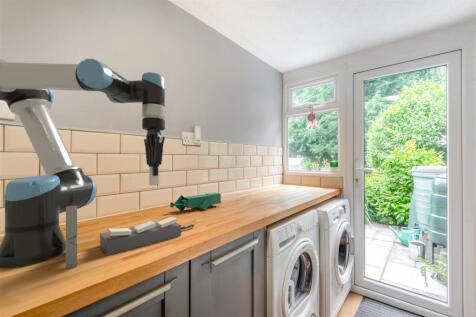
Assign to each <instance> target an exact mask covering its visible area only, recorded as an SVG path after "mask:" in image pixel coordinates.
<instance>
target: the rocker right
mask: <svg viewBox="0 0 476 317" xmlns="http://www.w3.org/2000/svg"><path fill="white" fill-rule="evenodd" d="M177 222H178V218H177V217H175V216H170V217H167V218H165V219H162V220H160V221H157V225H158V226H159V227H161V228H164V227H166V226H168V225H171V224H173V223H177Z"/></svg>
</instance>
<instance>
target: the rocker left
mask: <svg viewBox="0 0 476 317" xmlns="http://www.w3.org/2000/svg"><path fill="white" fill-rule="evenodd" d="M129 228H130V227H126V228H125V227H124V228H121V227H120V228H118V227H117V228H108V229H107V231H106V232H107V233H108V234H109V235H110V236H118V235H131V234H132V231H131V230H130V229H129Z"/></svg>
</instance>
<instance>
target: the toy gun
mask: <svg viewBox="0 0 476 317" xmlns="http://www.w3.org/2000/svg"><path fill="white" fill-rule="evenodd" d="M65 240H66V250H65V270H68V269H72V268H76V267H78V209H77V206H75V205H69V206H68V207H66V212H65Z"/></svg>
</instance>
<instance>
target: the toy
mask: <svg viewBox="0 0 476 317" xmlns="http://www.w3.org/2000/svg"><path fill="white" fill-rule="evenodd" d="M221 196H222V194H221V193H220V192H214V191H213V192H208V193H204V194H195V195H187V196H184V195H180V196H179V197H178V198H177V200H176V201H175V202H173V201H172V202H170V203H169V206H170V208H174V207H175V208H176V209H178V210H179V211H180V212H182V213H183V211H184V210H185V208H186V209H192V208H196V209H200V210H202V211H204V212H205V211H207V210H208V208H210V207H213V205H219V204H221V203H222V197H221Z"/></svg>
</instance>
